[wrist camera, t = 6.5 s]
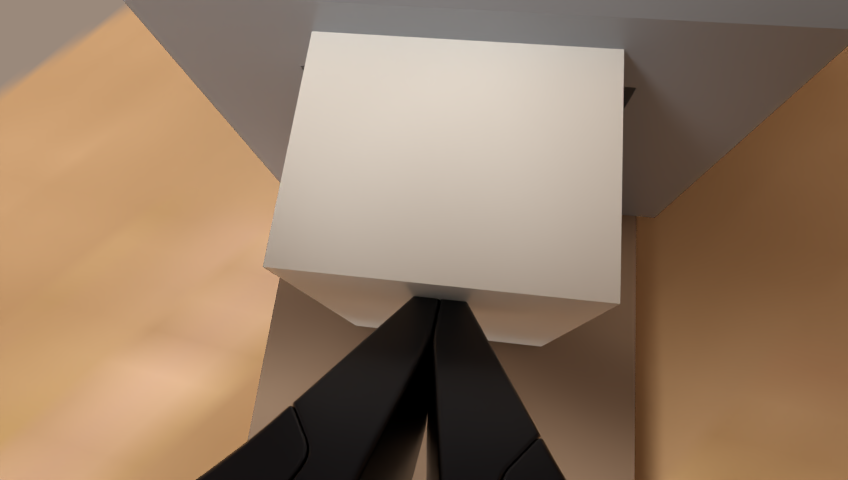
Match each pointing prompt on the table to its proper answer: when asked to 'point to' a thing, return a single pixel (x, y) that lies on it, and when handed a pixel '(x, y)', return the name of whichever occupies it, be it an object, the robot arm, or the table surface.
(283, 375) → the board
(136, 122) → the table surface
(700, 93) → the socket housing
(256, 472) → the robot arm
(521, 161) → the plug
